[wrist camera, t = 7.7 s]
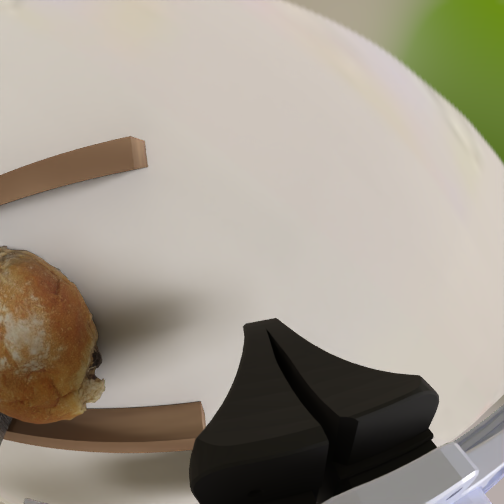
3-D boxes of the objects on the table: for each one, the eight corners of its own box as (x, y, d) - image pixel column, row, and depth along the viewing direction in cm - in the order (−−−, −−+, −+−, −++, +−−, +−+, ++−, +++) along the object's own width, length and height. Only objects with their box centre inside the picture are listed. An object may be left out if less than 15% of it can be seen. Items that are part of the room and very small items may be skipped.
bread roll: (77, 222, 16) (-19, 192, 8) (154, 377, 15) (78, 444, 7) (-4, 294, 16) (-84, 296, 8) (54, 420, 15) (-16, 465, 7)
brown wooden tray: (204, 413, 17) (213, 488, 12) (-7, 410, 15) (-30, 458, 9) (144, 140, 12) (105, 128, 6) (-86, 223, 9) (-138, 249, 4)
